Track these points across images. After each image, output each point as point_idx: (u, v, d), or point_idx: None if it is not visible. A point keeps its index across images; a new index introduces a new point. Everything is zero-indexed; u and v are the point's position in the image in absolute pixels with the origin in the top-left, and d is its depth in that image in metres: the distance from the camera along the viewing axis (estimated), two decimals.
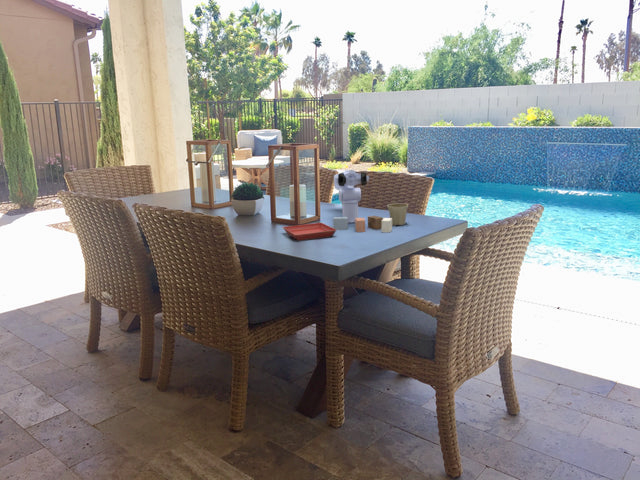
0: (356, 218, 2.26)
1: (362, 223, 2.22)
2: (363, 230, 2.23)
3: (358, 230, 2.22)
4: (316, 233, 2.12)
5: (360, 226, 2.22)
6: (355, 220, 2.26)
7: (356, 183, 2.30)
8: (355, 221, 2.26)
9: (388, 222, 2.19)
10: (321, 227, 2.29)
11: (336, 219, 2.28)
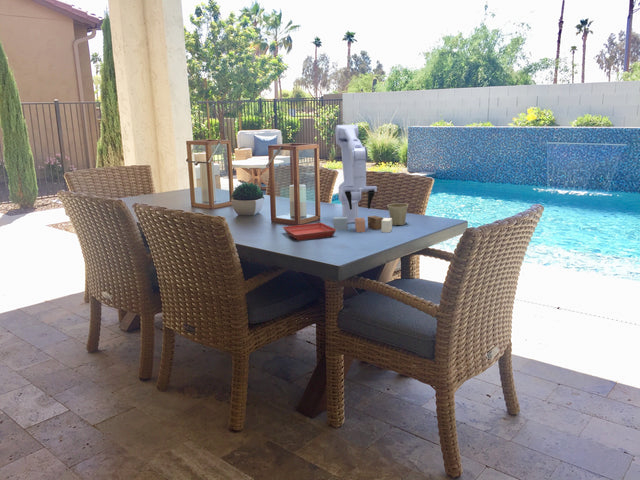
0: (356, 218, 2.26)
1: (362, 223, 2.22)
2: (363, 230, 2.23)
3: (358, 230, 2.22)
4: (316, 233, 2.12)
5: (360, 226, 2.22)
6: (355, 220, 2.26)
7: None
8: (355, 221, 2.26)
9: (388, 222, 2.19)
10: (321, 227, 2.29)
11: (336, 219, 2.28)
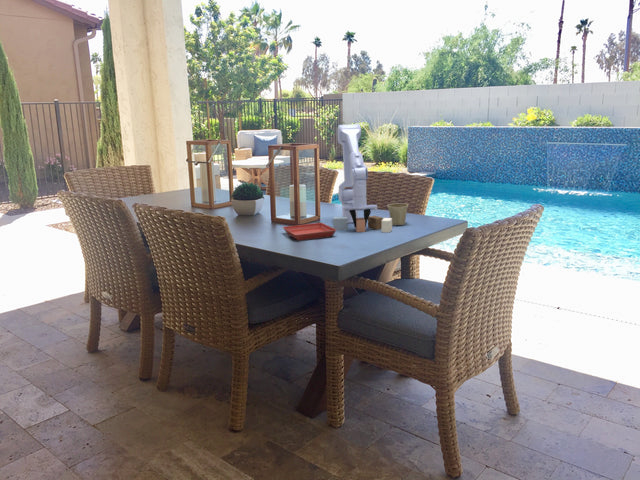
0: (356, 218, 2.26)
1: (362, 223, 2.22)
2: (363, 230, 2.22)
3: (358, 230, 2.22)
4: (316, 233, 2.12)
5: (360, 226, 2.22)
6: None
7: None
8: None
9: (388, 222, 2.19)
10: (321, 227, 2.29)
11: (336, 219, 2.28)
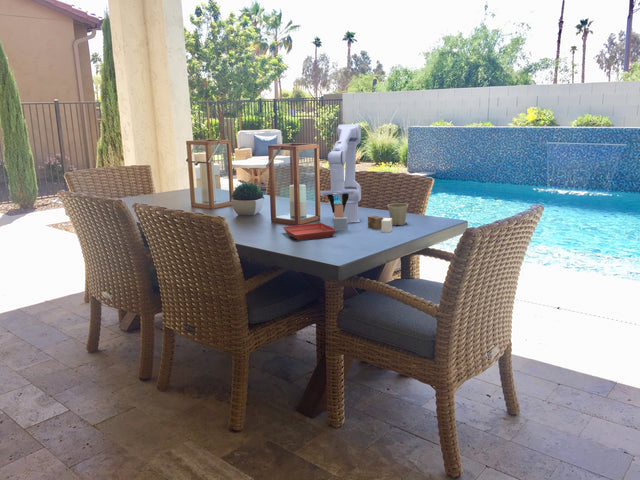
0: None
1: (340, 209, 2.19)
2: (341, 215, 2.20)
3: (336, 215, 2.19)
4: (316, 233, 2.12)
5: (339, 212, 2.19)
6: None
7: None
8: None
9: (388, 222, 2.19)
10: (321, 227, 2.29)
11: (336, 219, 2.28)
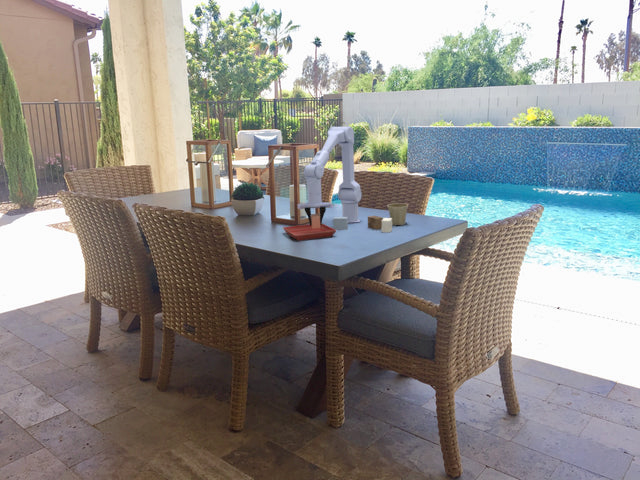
0: (312, 214, 2.23)
1: (316, 220, 2.19)
2: (318, 226, 2.19)
3: (313, 226, 2.19)
4: (316, 233, 2.12)
5: (315, 223, 2.19)
6: None
7: None
8: None
9: (388, 222, 2.19)
10: (321, 227, 2.29)
11: (336, 219, 2.28)
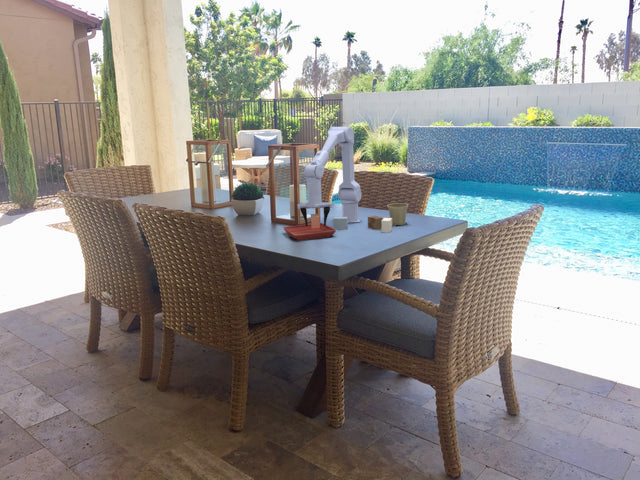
0: (311, 214, 2.23)
1: (316, 220, 2.18)
2: (318, 226, 2.19)
3: (313, 226, 2.19)
4: (316, 233, 2.12)
5: (315, 223, 2.19)
6: None
7: None
8: None
9: (388, 222, 2.19)
10: (321, 227, 2.29)
11: (336, 219, 2.28)
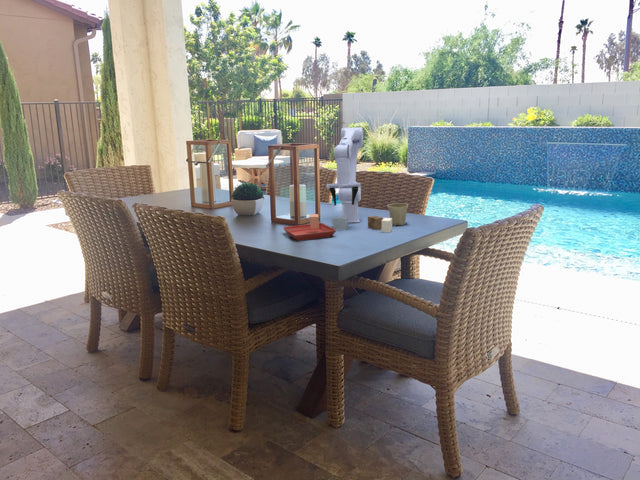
0: (310, 214, 2.22)
1: (315, 220, 2.18)
2: (317, 227, 2.19)
3: (312, 227, 2.19)
4: (316, 233, 2.12)
5: (314, 223, 2.18)
6: None
7: None
8: None
9: (388, 222, 2.19)
10: (321, 227, 2.29)
11: (336, 219, 2.28)
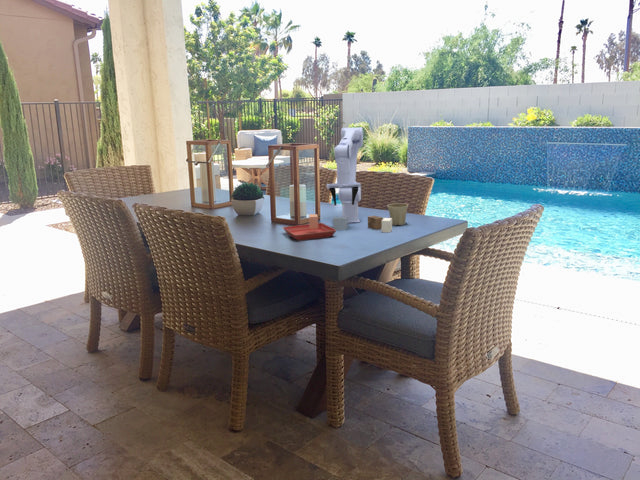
0: (310, 214, 2.22)
1: (314, 220, 2.18)
2: (316, 227, 2.18)
3: (311, 227, 2.18)
4: (316, 233, 2.12)
5: (313, 223, 2.18)
6: None
7: None
8: None
9: (388, 222, 2.19)
10: (321, 227, 2.29)
11: (336, 219, 2.28)
